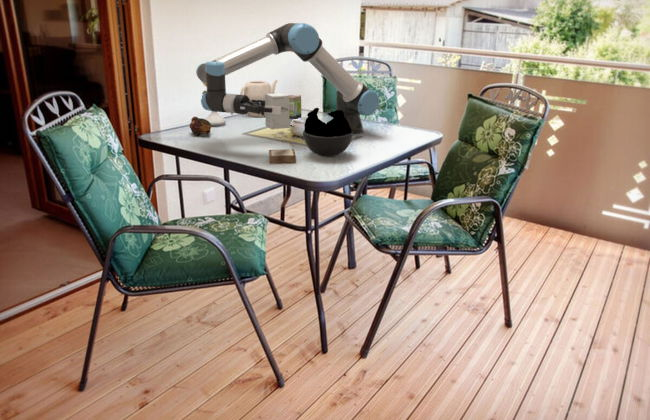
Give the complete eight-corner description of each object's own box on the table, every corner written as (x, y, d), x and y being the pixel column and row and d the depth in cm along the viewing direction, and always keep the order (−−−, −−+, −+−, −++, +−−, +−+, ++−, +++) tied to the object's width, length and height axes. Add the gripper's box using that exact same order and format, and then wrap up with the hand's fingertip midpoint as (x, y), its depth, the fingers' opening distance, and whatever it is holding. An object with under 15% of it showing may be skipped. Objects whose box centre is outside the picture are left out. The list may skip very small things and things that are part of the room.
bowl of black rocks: (359, 160, 197) (361, 113, 190) (311, 164, 190) (312, 115, 183) (341, 148, 214) (342, 104, 207) (296, 152, 208) (296, 106, 201)
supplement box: (272, 130, 188) (271, 96, 184) (265, 126, 195) (264, 93, 190) (290, 128, 192) (289, 95, 187) (282, 124, 198) (282, 92, 193)
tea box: (301, 123, 265) (301, 94, 260) (294, 126, 256) (294, 97, 251) (276, 120, 270) (275, 93, 264) (268, 124, 261) (267, 95, 255)
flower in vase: (230, 124, 259) (228, 75, 250) (215, 128, 250) (211, 77, 241) (212, 121, 265) (209, 73, 256) (196, 125, 256) (192, 75, 247)
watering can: (286, 114, 287) (286, 81, 280) (249, 120, 270) (248, 84, 263) (269, 110, 297) (268, 78, 291) (232, 116, 280) (231, 82, 273)
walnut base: (294, 156, 201) (293, 149, 200) (295, 163, 192) (295, 155, 191) (269, 157, 200) (268, 149, 199) (269, 163, 191) (269, 156, 189)
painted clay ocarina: (201, 130, 244) (201, 114, 241) (218, 138, 234) (218, 121, 231) (183, 132, 237) (183, 115, 234) (200, 140, 228) (200, 122, 225)
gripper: (252, 109, 208) (300, 113, 200) (221, 118, 189) (273, 123, 180) (252, 91, 205) (300, 94, 197) (220, 98, 186) (272, 102, 178)
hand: (287, 108), depth 189 cm, fingers closed on supplement box, 10 cm apart
